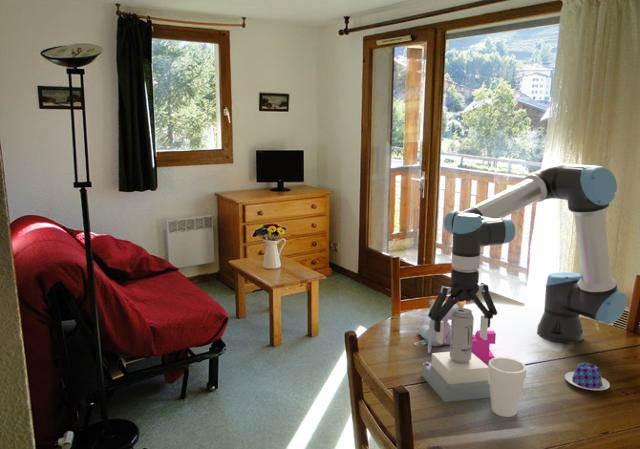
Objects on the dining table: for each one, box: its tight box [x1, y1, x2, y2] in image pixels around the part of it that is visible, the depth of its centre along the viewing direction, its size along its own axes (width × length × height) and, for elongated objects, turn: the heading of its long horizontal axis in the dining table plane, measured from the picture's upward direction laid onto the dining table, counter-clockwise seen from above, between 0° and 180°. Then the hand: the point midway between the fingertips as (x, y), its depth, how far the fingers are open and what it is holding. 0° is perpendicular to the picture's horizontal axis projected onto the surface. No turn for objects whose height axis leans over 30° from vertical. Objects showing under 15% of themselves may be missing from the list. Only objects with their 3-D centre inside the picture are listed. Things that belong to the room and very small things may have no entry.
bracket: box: [472, 329, 497, 364], centre depth 172 cm, size 12×10×10 cm
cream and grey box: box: [421, 351, 491, 403], centre depth 151 cm, size 16×16×8 cm
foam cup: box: [487, 356, 527, 418], centre depth 137 cm, size 10×9×13 cm
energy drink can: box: [449, 307, 475, 364], centre depth 149 cm, size 6×6×15 cm
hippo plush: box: [413, 299, 460, 355], centre depth 182 cm, size 15×19×15 cm
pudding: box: [564, 362, 611, 391], centre depth 154 cm, size 12×12×5 cm
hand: (461, 340), depth 149 cm, fingers open, 13 cm apart
